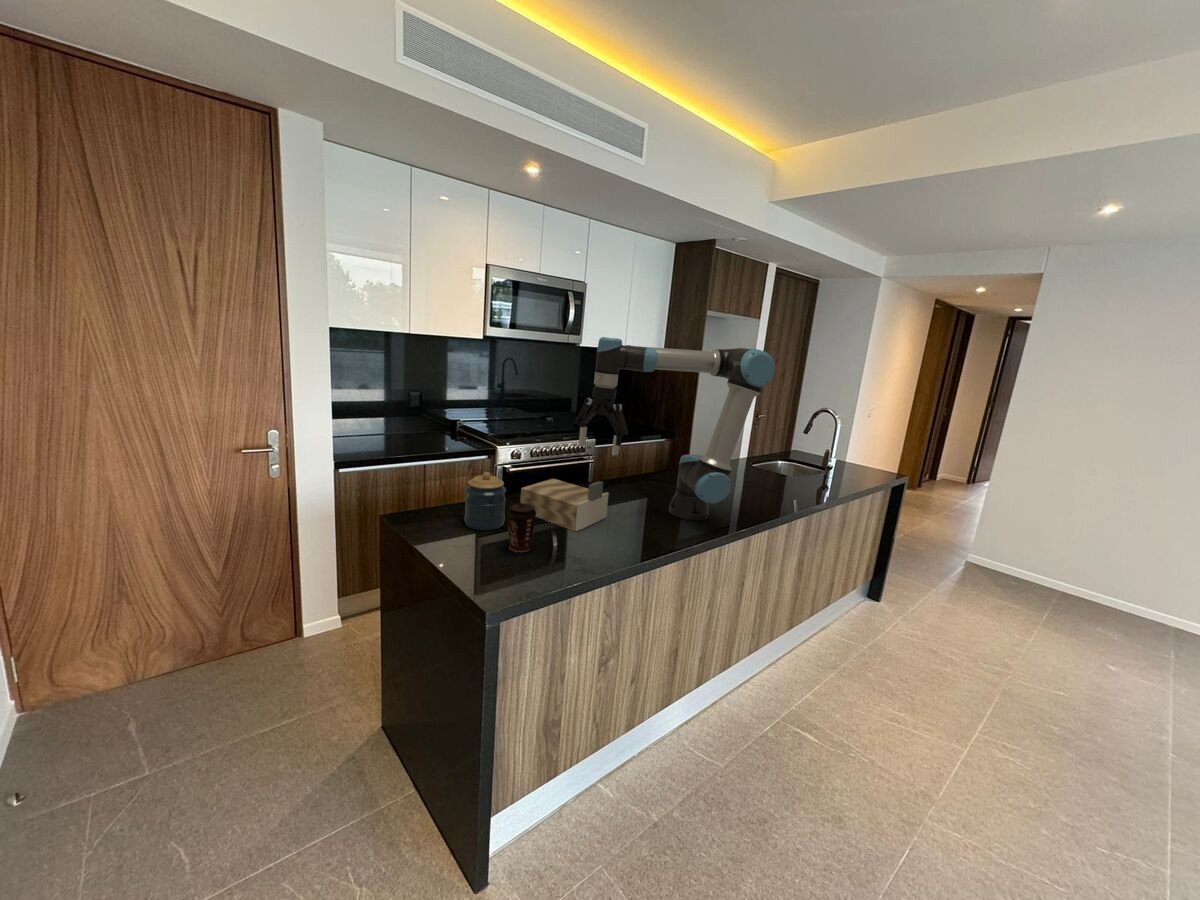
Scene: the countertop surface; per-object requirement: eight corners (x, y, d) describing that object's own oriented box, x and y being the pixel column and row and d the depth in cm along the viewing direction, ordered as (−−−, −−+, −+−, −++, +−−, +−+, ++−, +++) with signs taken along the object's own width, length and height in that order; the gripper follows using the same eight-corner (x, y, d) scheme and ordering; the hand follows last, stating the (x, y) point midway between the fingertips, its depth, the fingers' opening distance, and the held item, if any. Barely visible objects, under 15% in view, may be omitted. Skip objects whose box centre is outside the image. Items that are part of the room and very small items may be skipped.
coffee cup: (515, 539, 155) (517, 499, 152) (539, 545, 152) (542, 505, 149) (500, 549, 147) (502, 508, 144) (524, 556, 144) (527, 514, 141)
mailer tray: (608, 518, 179) (612, 478, 176) (579, 532, 164) (583, 489, 161) (554, 501, 192) (556, 464, 189) (522, 512, 177) (525, 472, 174)
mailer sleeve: (603, 517, 180) (605, 493, 178) (574, 531, 165) (576, 505, 163) (551, 500, 193) (552, 478, 191) (519, 512, 178) (521, 488, 176)
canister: (457, 527, 160) (458, 474, 156) (474, 514, 172) (476, 464, 168) (495, 533, 158) (498, 480, 154) (510, 519, 170) (512, 469, 166)
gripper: (567, 381, 165) (561, 443, 170) (631, 392, 151) (623, 460, 156) (581, 380, 171) (575, 441, 176) (644, 392, 157) (635, 457, 162)
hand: (598, 450), depth 166 cm, fingers open, 13 cm apart
